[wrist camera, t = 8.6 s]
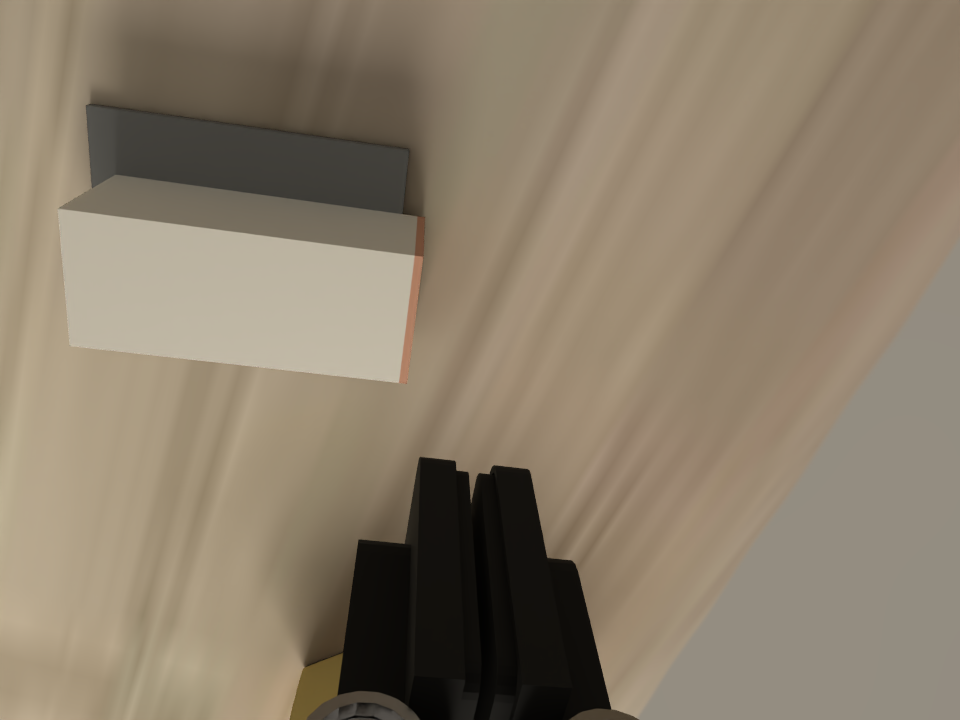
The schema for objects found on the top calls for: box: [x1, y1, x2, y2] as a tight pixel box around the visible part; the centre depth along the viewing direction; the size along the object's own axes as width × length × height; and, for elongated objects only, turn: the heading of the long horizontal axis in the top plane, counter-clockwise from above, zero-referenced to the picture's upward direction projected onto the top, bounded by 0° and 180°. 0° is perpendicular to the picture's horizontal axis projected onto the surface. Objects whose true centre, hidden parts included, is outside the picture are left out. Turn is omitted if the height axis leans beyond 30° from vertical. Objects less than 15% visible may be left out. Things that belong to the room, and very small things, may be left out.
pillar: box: [58, 175, 425, 384], centre depth 29 cm, size 5×5×12 cm
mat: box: [86, 104, 409, 214], centre depth 31 cm, size 10×12×1 cm
